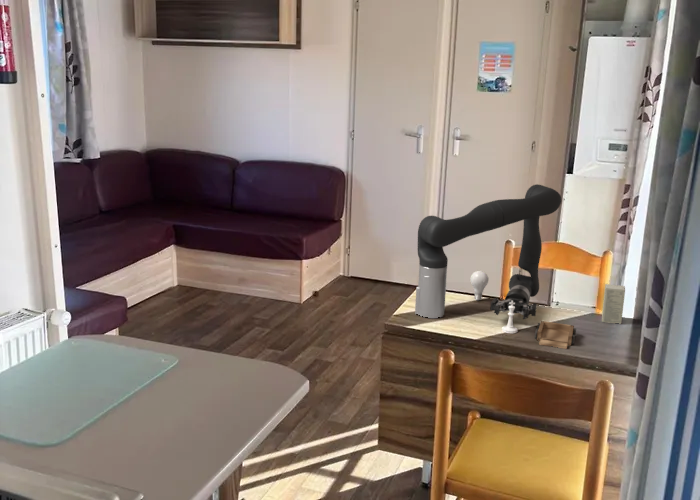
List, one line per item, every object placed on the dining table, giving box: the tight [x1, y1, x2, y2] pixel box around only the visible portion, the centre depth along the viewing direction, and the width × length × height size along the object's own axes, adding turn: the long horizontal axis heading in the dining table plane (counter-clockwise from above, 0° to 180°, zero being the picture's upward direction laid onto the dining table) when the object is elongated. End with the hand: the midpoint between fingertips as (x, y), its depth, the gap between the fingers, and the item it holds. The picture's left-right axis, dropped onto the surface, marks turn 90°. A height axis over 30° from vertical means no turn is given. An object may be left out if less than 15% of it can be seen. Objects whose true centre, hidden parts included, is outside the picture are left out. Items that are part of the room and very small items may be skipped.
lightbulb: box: [469, 270, 489, 302], centre depth 243 cm, size 6×6×11 cm
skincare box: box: [601, 283, 626, 325], centre depth 226 cm, size 6×4×12 cm
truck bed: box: [534, 320, 577, 350], centre depth 211 cm, size 12×13×3 cm
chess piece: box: [501, 301, 519, 334], centre depth 216 cm, size 5×5×10 cm
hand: (510, 314), depth 214 cm, fingers open, 8 cm apart
